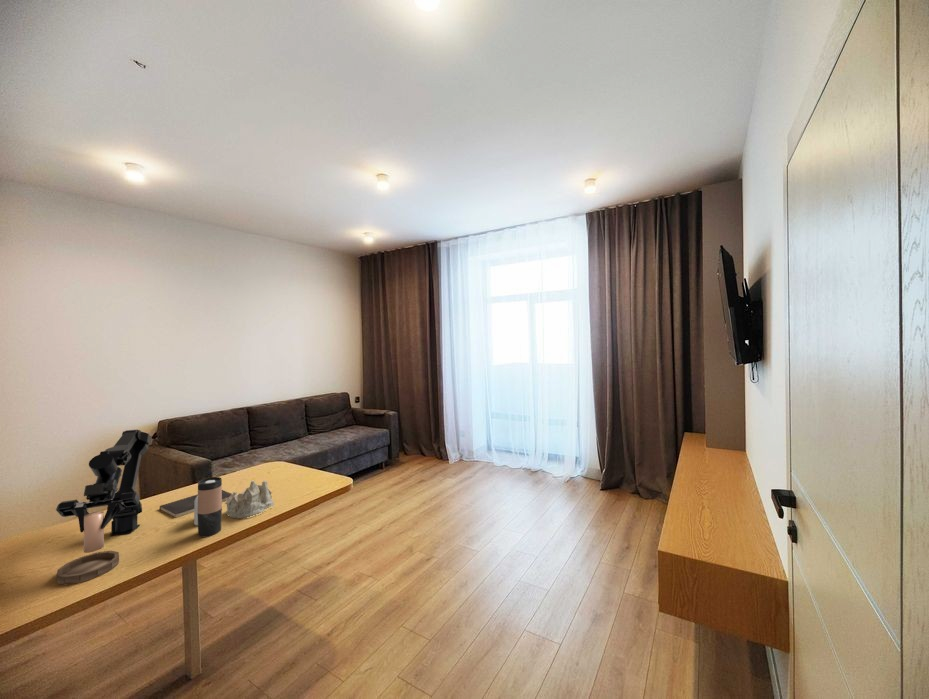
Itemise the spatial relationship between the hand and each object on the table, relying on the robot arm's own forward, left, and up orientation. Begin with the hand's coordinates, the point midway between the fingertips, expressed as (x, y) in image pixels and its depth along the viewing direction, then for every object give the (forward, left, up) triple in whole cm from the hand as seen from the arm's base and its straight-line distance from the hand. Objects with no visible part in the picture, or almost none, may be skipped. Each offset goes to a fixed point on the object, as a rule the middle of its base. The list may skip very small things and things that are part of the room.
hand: (91, 530), depth 111 cm
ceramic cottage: (-35, -35, -14) cm, 52 cm away
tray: (+1, -1, -13) cm, 13 cm away
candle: (0, -1, -7) cm, 7 cm away
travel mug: (-26, -18, -13) cm, 34 cm away
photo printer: (-20, -30, -14) cm, 39 cm away
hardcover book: (-10, -49, -14) cm, 52 cm away
